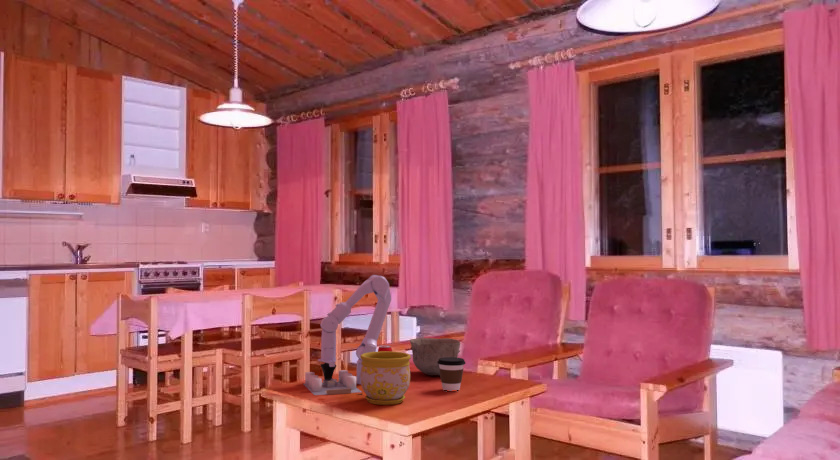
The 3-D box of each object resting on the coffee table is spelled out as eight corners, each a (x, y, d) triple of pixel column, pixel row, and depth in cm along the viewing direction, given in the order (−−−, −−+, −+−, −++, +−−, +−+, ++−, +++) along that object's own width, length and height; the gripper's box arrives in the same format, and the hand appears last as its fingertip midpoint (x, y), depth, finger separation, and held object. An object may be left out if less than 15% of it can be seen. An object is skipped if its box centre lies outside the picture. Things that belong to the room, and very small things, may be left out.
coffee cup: (469, 389, 260) (469, 358, 260) (459, 394, 250) (459, 362, 250) (443, 386, 264) (443, 356, 265) (432, 391, 254) (432, 360, 255)
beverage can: (389, 375, 287) (390, 347, 287) (375, 374, 288) (376, 346, 288) (393, 372, 293) (393, 345, 293) (379, 372, 294) (380, 344, 294)
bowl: (407, 370, 299) (407, 337, 299) (455, 370, 301) (455, 337, 302) (412, 379, 277) (412, 343, 277) (463, 379, 279) (464, 343, 280)
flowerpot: (416, 405, 231) (416, 358, 231) (365, 408, 226) (366, 359, 226) (402, 394, 248) (403, 350, 249) (355, 396, 243) (356, 352, 244)
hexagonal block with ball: (329, 384, 260) (329, 377, 260) (338, 386, 257) (339, 379, 257) (320, 386, 257) (320, 379, 257) (330, 388, 253) (330, 381, 254)
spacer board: (347, 383, 267) (347, 369, 268) (362, 395, 246) (362, 380, 246) (302, 386, 261) (303, 372, 261) (314, 398, 240) (314, 383, 240)
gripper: (314, 345, 266) (314, 379, 266) (322, 350, 252) (321, 386, 252) (332, 344, 268) (331, 378, 268) (340, 349, 255) (339, 385, 254)
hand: (328, 382), depth 260 cm, fingers closed
